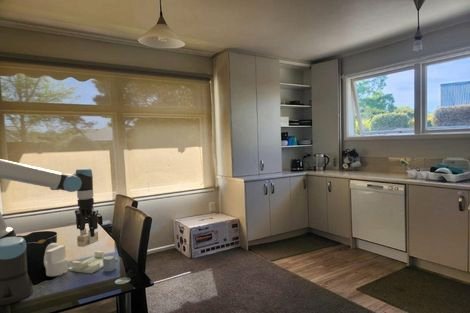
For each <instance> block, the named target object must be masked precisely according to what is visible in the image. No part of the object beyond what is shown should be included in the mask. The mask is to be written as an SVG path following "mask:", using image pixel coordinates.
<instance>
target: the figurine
mask: <svg viewBox="0 0 470 313" xmlns="http://www.w3.org/2000/svg"><path fill="white" fill-rule="evenodd" d="M57 246H60V245H59V244H58V243H57V242H51V243H49V244H48V245H47V246H46V248H45V251H44V256H43V265H44V268H45V269H46V261H47V260H46V251H47V250H50V249H52V248H55V247H57Z"/></svg>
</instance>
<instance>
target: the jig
mask: <svg viewBox="0 0 470 313" xmlns="http://www.w3.org/2000/svg"><path fill="white" fill-rule="evenodd" d="M106 257H107V256H105V251H100V250H95V251H94V256H91V257H89V258H88V259H85V260H83V261H77V260H73V261H71V266H70V267H67V272H77V273H85V274H93V272H94V273H95V272H97V271H99V270H101V269H103V259H104V258H106ZM115 260H116V261H118V257H115Z"/></svg>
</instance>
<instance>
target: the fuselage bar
mask: <svg viewBox="0 0 470 313" xmlns="http://www.w3.org/2000/svg"><path fill="white" fill-rule="evenodd" d="M94 233H95V236H94V242H93V243H91V244H94V243H96V242H98V241H99V232H98V231H95V230H94ZM76 241H77V243H76V244H77V247H82V248H84V247H87V246H89V245H91V244H89V234H88V232H87V233H86V234H83V235H81V234H80V235H78V236H76Z"/></svg>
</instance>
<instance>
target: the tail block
mask: <svg viewBox="0 0 470 313" xmlns="http://www.w3.org/2000/svg"><path fill="white" fill-rule="evenodd" d="M105 257H106V258H104V259H103V268H102V269H103V272H108V271H111V272H113V271H114V270H116V269H117V265H116V264H117V263H116V262H117V260H115V258H116V256H113V255H112V256H111V255H109V256H105Z"/></svg>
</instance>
